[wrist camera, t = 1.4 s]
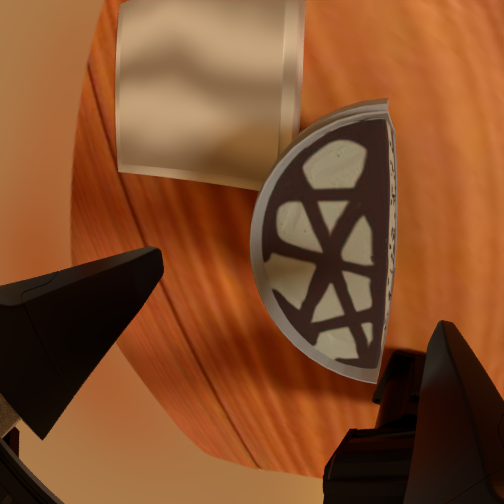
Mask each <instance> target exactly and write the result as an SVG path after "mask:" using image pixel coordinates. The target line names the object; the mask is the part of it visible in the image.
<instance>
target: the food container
mask: <svg viewBox="0 0 504 504" xmlns="http://www.w3.org/2000/svg"><path fill="white" fill-rule="evenodd" d="M396 242H397V163H396V143H395V130H394V127H393V124H392V121H391V118H390V115H389V112H388V98H385V99H376V100H367V101H362V102H358V103H355V104H352V105H348V106H345V107H341V108H339V109H337V110H335V111H333V112H331V113H329V114H327V115H325V116H323V117H321V118H319V119H318V120H316V121H315V122H314V123H312V124H311V125H310V126H308V127H307V128H306V129H304V130H303V131H302V132H300V133H299V135H298V136H297V137H296V138H295V139H294V140H293V141H292V142H291V143H290V144H289V145H288V146H287V147H286V148H285V149H284V151H283V152H282V153H281V154H280V155H279V157H278V158H277V160H276V161H275V163H274V164H273V166H272V167H271V169H270V170H269V172H268V173H267V175H266V177H265V179H264V181H263V184H262V186H261V188H260V190H259V193H258V195H257V199H256V202H255V206H254V210H253V214H252V222H251V232H250V243H249V244H250V259H251V267H252V271H253V276H254V280H255V284H256V287H257V289H258V292H259V295H260V297H261V300H262V302H263V304H264V306H265V307H266V309H267V311H268V313H269V315H270V317H271V318H272V320H273V321H274V322H275V324H276V325H277V326H278V328H279V329H280V330H281V332H282V333H283V334H284V335H285V336H286V337H287V338H288V339H289V340H290V341H291V342H292V344H293V345H294V346H295V347H297V348H298V349H299V350H300V351H302V352H303V353H304V354H305V355H307V356H308V357H309V358H311V359H312V360H314V361H315V362H317V363H319V364H320V365H322V366H323V367H325V368H327V369H329V370H331V371H334V372H336V373H338V374H340V375H342V376H346V377H349V378H352V379H355V380H358V381H363V382H368V383H373V384H377V380H378V376H379V372H380V367H381V362H382V361H381V360H382V355H383V350H384V345H385V339H386V333H387V327H388V321H389V314H390V307H391V300H392V292H393V283H394V274H395V262H396Z"/></svg>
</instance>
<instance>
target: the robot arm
mask: <svg viewBox="0 0 504 504" xmlns="http://www.w3.org/2000/svg"><path fill="white" fill-rule="evenodd" d="M163 273H164V266H163V259H162V253H161V250H160V249H159V248H155V247H152V246H148V247H144V248H140V249H137V250H133V251H129V252H125V253H122V254H118V255H114V256H111V257H107V258H103V259H100V260H96V261H92V262H89V263H85V264H81V265H78V266H74V267H71V268H68V269H64V270H61V271H60V272H59V271H57V272H53V273H50V274H46V275H42V276H39V277H35V278H31V279H27V280H23V281H18V282H14V283H10V284H6V285H2V286H0V504H64V503H63V502H62V501H61V500H60V499H59V498H58V497H57V496H55V495H54V494H53V493H52V492H51V491H50V490H49V489H48V488H47V487H46V486H45V485H44V484H43V483H42V482H41V481H40V480H39V479H38V478H37V477H36V476H35V475H34V474H33V473H32V472H31V471H30V470H29V469H28V468H27V467H26V466H25V465H24V464H23V462H22V461H21V460H20V459H19V430H18V429H17V428H16V427H15V425H16V424H17V423H18V422H19V421H20V420H21V419H22V420H23V422H24V423H25V424H26V425H27V426H28V427H29V428H30V429H31V430H32V431H33V432H34V433H35V434H36V435H37V436H38V437H39V438H40V439H41V440H43V439H44V438H45V437H46V436H47V434H48V433H49V431H50V430H51V429H52V427H53V426H54V424H55V423H56V421H57V420H58V418H59V417H60V416H61V414H62V413H63V412H64V410H65V409H66V407H67V406H68V404H69V403H70V402H71V400H72V399H73V397H74V396H75V395H76V393H77V392H78V390H79V389H80V388H81V386H82V385H83V384H84V382H85V381H86V380H87V378H88V377H89V375H90V374H91V373H92V372H93V370H94V369H95V367H96V366H97V365H98V363H99V362H100V361H101V359H102V358H103V357H104V356H105V354H106V353H107V352H108V350H109V349H110V348H111V346H112V345H113V344H114V343H115V341H116V340H117V339H118V337H119V336H120V335H121V334H122V332H123V331H124V330H125V328H126V327H127V326H128V325H129V323H130V322H131V321H132V320H133V318H134V317H135V316H136V314H137V313H138V312H139V311H140V309H141V308H142V306H143V305H144V303H145V302H146V300H147V299H148V297H149V296H150V294H151V293H152V291H153V290H154V288H155V287H156V285H157V284H158V282H159V281H160V279H161V277H162V276H163ZM396 356H399V358H396ZM372 401H373V403H375V404H379V405H380V409H379V413H378V417H377V421H376V425H375V428H374V429H359V430H357V429H349V431H348V432H347V434H346V436H345V437H344V439H343V440H342V442H341V443H340V445H339V446H338V448H337V449H336V451H335V452H334V454H333V455H332V457H331V458H330V460H329V461H328V463H327V464H326V466H325V468H324V475H323V493H324V501H323V504H504V401H503V399H502V397H501V395H500V394H499V392H498V390H497V389H496V387H495V385H494V384H493V382H492V380H491V379H490V377H489V376H488V374H487V372H486V371H485V369H484V368H483V366H482V365H481V363H480V361H479V360H478V358H477V357H476V355H475V354H474V352H473V351H472V349H471V348H470V346H469V345H468V343H467V342H466V340H465V339H464V338H463V336H462V335H461V333H460V332H459V330H458V329H457V328H456V326H455V325H454V324H453V323H452V322H449V321H444V320H441V321H439V322H438V324H437V326H436V328H435V330H434V332H433V334H432V337H431V339H430V341H429V343H428V347H427V353H426V357H422V356H418V355H414V354H410V353H406V352H402V351H395V352H393V353H392V355H391V358H390V360H389V363H388V365H387V367H386V369H385V372H384V374H383V376H382V378H381V381H380V383H379V385H378V387H377V389H376V391H375V393H374V396H373V399H372Z"/></svg>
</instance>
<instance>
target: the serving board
mask: <svg viewBox="0 0 504 504" xmlns="http://www.w3.org/2000/svg"><path fill="white" fill-rule="evenodd" d="M304 23H305V0H130V1H127V2H124V3H122V4H120V9H119V19H118V32H117V49H116V77H115V115H116V145H117V162H118V172H125V173H134V174H143V175H152V176H160V177H168V178H176V179H183V180H191V181H198V182H205V183H212V184H219V185H225V186H232V187H238V188H244V189H250V190H256V191H259V190H260V188H261V186H262V184H263V181H264V179H265V177H266V175H267V173H268V172H269V170H270V169H271V167H272V166H273V164H274V163H275V161H276V160H277V158H278V157H279V155H280V154H281V153H282V152H283V151H284V149H285V148H286V147H287V146H288V145H289V144H290V143H291V142H292V141H293V140H294V139H295V138H296V137H297V136H298V135H299V126H300V110H301V93H302V73H303V51H304Z"/></svg>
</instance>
